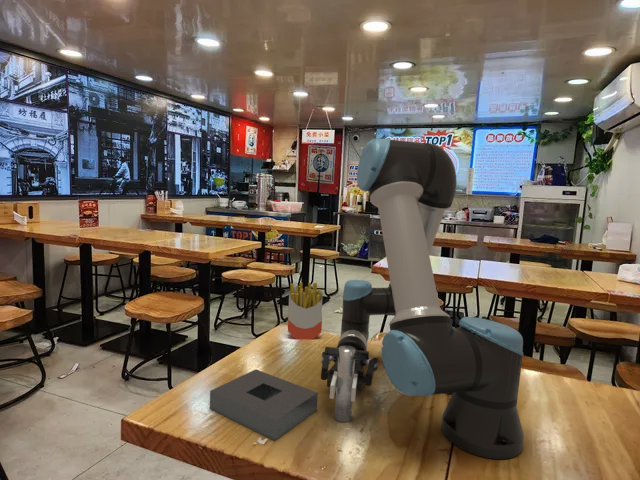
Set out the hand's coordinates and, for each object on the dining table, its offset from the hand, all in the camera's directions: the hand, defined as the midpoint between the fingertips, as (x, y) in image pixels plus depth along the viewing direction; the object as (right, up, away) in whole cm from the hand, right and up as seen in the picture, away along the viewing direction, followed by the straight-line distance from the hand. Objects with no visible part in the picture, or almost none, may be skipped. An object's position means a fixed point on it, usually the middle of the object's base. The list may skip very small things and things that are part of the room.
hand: (342, 393), depth 77 cm
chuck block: (-16, -6, +8) cm, 19 cm away
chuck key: (0, -8, +6) cm, 10 cm away
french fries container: (-10, -2, +54) cm, 55 cm away
